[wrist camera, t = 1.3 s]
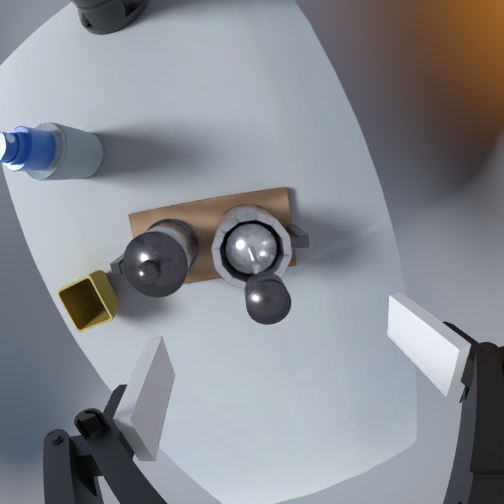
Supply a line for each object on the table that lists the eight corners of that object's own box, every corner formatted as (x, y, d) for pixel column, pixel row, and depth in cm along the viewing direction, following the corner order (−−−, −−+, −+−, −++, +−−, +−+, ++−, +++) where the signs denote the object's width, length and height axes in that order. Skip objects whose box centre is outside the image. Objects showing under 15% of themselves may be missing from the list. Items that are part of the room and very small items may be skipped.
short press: (125, 226, 48) (83, 247, 32) (192, 213, 49) (175, 229, 33) (137, 279, 51) (104, 318, 35) (203, 269, 51) (192, 308, 35)
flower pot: (108, 260, 51) (89, 274, 42) (128, 299, 53) (113, 320, 44) (76, 275, 51) (55, 291, 42) (96, 313, 53) (78, 333, 45)
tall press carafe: (211, 209, 49) (205, 219, 36) (287, 197, 49) (307, 203, 37) (221, 267, 51) (219, 295, 39) (294, 255, 52) (314, 279, 39)
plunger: (222, 227, 39) (215, 269, 21) (272, 219, 39) (308, 254, 21) (230, 275, 41) (232, 349, 22) (278, 267, 41) (315, 334, 23)
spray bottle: (93, 124, 45) (11, 95, 20) (110, 162, 47) (28, 155, 23) (59, 149, 45) (-29, 141, 21) (75, 187, 47) (-14, 199, 23)
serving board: (131, 213, 49) (128, 214, 48) (285, 187, 50) (286, 187, 49) (147, 286, 53) (145, 289, 51) (294, 262, 54) (296, 265, 52)
